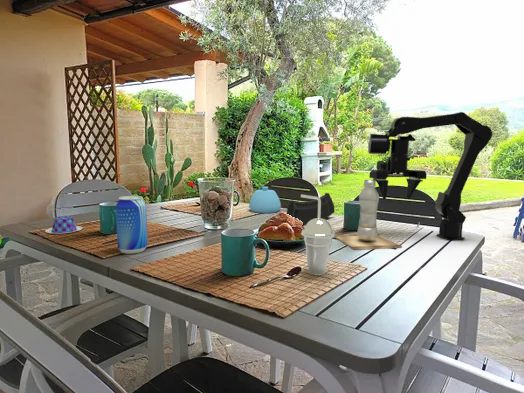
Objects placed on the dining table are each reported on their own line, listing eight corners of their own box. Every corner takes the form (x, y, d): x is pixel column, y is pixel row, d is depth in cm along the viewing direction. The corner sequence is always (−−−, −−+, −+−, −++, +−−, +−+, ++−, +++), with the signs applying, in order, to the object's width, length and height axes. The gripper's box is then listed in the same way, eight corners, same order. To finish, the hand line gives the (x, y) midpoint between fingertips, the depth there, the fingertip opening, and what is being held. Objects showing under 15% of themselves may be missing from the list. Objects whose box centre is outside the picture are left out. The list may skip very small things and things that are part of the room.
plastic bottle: (359, 243, 121) (362, 181, 119) (354, 237, 128) (357, 179, 125) (379, 243, 121) (383, 181, 118) (373, 238, 128) (376, 179, 125)
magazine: (287, 206, 140) (330, 178, 159) (280, 205, 142) (324, 177, 161) (294, 246, 146) (335, 214, 165) (287, 245, 148) (329, 213, 167)
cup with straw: (334, 279, 91) (337, 196, 88) (296, 276, 92) (298, 195, 89) (334, 267, 99) (336, 192, 96) (299, 265, 100) (301, 190, 98)
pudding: (61, 236, 129) (60, 221, 128) (37, 233, 134) (36, 218, 133) (90, 229, 140) (89, 215, 139) (67, 226, 145) (66, 213, 144)
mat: (377, 235, 134) (377, 233, 134) (401, 247, 118) (401, 245, 118) (334, 237, 131) (334, 235, 131) (354, 250, 115) (354, 247, 115)
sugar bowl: (269, 215, 170) (270, 189, 168) (242, 211, 178) (242, 187, 176) (286, 210, 182) (286, 186, 180) (260, 207, 190) (260, 184, 188)
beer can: (153, 248, 115) (151, 196, 113) (135, 255, 108) (133, 200, 105) (130, 245, 118) (128, 194, 116) (111, 252, 110) (108, 198, 108)
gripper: (410, 153, 140) (407, 195, 142) (363, 153, 136) (361, 196, 138) (429, 154, 129) (425, 200, 131) (378, 154, 125) (375, 200, 127)
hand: (396, 199), depth 132 cm, fingers open, 9 cm apart
